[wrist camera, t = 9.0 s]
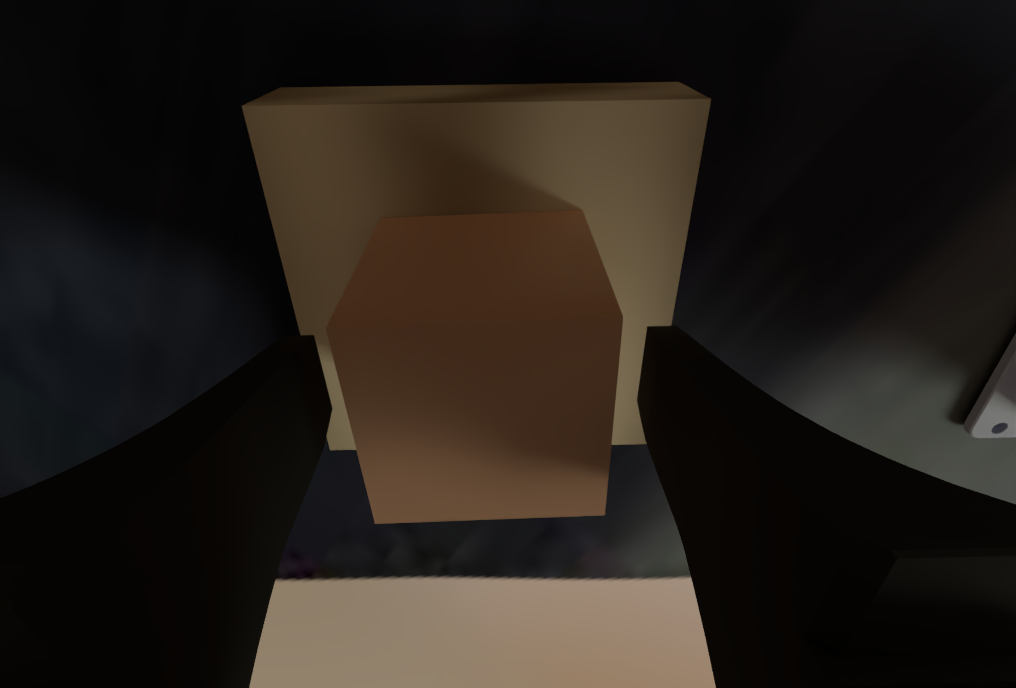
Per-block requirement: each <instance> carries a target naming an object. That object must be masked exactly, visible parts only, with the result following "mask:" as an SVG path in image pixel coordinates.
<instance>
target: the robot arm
mask: <svg viewBox="0 0 1016 688" xmlns="http://www.w3.org/2000/svg"><path fill="white" fill-rule="evenodd" d="M637 404H638V409H639V414H640V419H641V423H642V428H643V432H644V436H645V440H646V443H647V446H648V449H649V452H650V454H651V457H652V460H653V463H654V465H655V468H656V471H657V474H658V476H659V479H660V482H661V484H662V487H663V490H664V492H665V495H666V498H667V500H668V503H669V506H670V508H671V511H672V514H673V516H674V519H675V522H676V525H677V527H678V531H679V534H680V537H681V540H682V543H683V546H684V550H685V554H686V558H687V562H688V566H689V570H690V574H691V578H692V582H693V586H694V590H695V594H696V598H697V603H698V607H699V611H700V615H701V620H702V624H703V629H704V633H705V637H706V642H707V647H708V652H709V656H710V661H711V666H712V671H713V675H714V680H715V685H716V688H1016V505H1015V504H1012V503H1009V502H1006V501H1003V500H1000V499H997V498H994V497H991V496H988V495H985V494H982V493H979V492H975V491H972V490H969V489H966V488H963V487H960V486H957V485H955V484H952V483H949V482H946V481H944V480H941V479H939V478H936V477H933V476H931V475H928V474H926V473H923V472H920V471H918V470H915V469H913V468H910V467H908V466H905V465H903V464H900V463H898V462H896V461H893V460H891V459H889V458H886V457H884V456H882V455H879V454H877V453H875V452H873V451H871V450H869V449H866V448H864V447H862V446H860V445H858V444H856V443H854V442H852V441H849V440H847V439H845V438H843V437H841V436H839V435H837V434H835V433H833V432H831V431H829V430H827V429H826V428H824V427H822V426H820V425H818V424H817V423H815V422H813V421H811V420H809V419H808V418H806V417H804V416H802V415H801V414H799V413H797V412H795V411H794V410H792V409H790V408H789V407H787V406H785V405H784V404H782V403H781V402H779V401H777V400H776V399H774V398H773V397H771V396H770V395H768V394H767V393H765V392H764V391H762V390H761V389H759V388H758V387H756V386H755V385H753V384H752V383H751V382H749V381H748V380H746V379H745V378H744V377H742V376H741V375H739V374H738V373H737V372H735V371H734V370H733V369H731V368H730V367H729V366H727V365H726V364H725V363H723V362H722V361H721V360H720V359H718V358H717V357H716V356H714V355H713V354H712V353H711V352H709V351H708V350H707V349H705V348H704V347H703V346H702V345H700V344H699V343H698V342H697V341H695V340H694V339H693V338H691V337H690V336H689V335H688V334H686V333H685V332H684V331H682V330H681V329H679V328H678V327H677V326H647V331H646V338H645V345H644V353H643V360H642V367H641V374H640V381H639V389H638V396H637ZM332 409H333V408H332V404H331V400H330V396H329V392H328V388H327V385H326V381H325V377H324V373H323V369H322V365H321V361H320V357H319V353H318V349H317V345H316V341H315V337H314V335H292V336H285V337H283V338H281V339H280V340H278V341H276V342H275V343H273V344H272V345H271V346H269V347H268V348H266V349H265V350H263V351H262V352H261V353H259V354H258V355H257V356H255V357H254V358H252V359H251V360H250V361H248V362H247V363H246V364H244V365H243V366H242V367H240V368H239V369H237V370H236V371H235V372H233V373H232V374H230V375H229V376H228V377H226V378H225V379H224V380H222V381H221V382H219V383H218V384H217V385H215V386H214V387H212V388H211V389H209V390H208V391H206V392H205V393H203V394H202V395H200V396H199V397H197V398H196V399H194V400H193V401H191V402H190V403H188V404H187V405H185V406H184V407H182V408H181V409H179V410H178V411H176V412H175V413H173V414H172V415H170V416H168V417H167V418H165V419H164V420H162V421H160V422H159V423H157V424H155V425H153V426H152V427H150V428H148V429H147V430H145V431H143V432H141V433H139V434H138V435H136V436H134V437H132V438H130V439H129V440H127V441H125V442H123V443H121V444H119V445H118V446H116V447H114V448H112V449H110V450H108V451H106V452H104V453H102V454H99V455H97V456H95V457H93V458H91V459H89V460H87V461H85V462H83V463H81V464H79V465H77V466H74V467H72V468H70V469H68V470H66V471H64V472H62V473H60V474H58V475H55V476H53V477H51V478H49V479H46V480H44V481H42V482H39V483H37V484H35V485H32V486H30V487H28V488H25V489H23V490H20V491H18V492H15V493H13V494H10V495H8V496H5V497H3V498H0V688H249V685H250V681H251V676H252V672H253V667H254V663H255V658H256V653H257V649H258V645H259V641H260V637H261V633H262V629H263V624H264V621H265V617H266V613H267V609H268V605H269V601H270V597H271V593H272V589H273V586H274V583H275V579H276V575H277V572H278V568H279V564H280V561H281V557H282V554H283V551H284V548H285V545H286V543H287V540H288V537H289V534H290V532H291V529H292V527H293V524H294V522H295V519H296V517H297V514H298V512H299V509H300V507H301V504H302V502H303V499H304V497H305V494H306V492H307V489H308V487H309V484H310V482H311V479H312V476H313V474H314V471H315V469H316V466H317V464H318V461H319V458H320V456H321V453H322V450H323V448H324V444H325V440H326V436H327V432H328V427H329V423H330V418H331V413H332ZM963 427H964V430H965V431H966V432H967V433H968V434H969V435H970V436H972V437H973V438H1003V437H1016V333H1015V335H1014V337H1013V339H1012V340H1011V342H1010V344H1009V346H1008V347H1007V349H1006V351H1005V353H1004V354H1003V356H1002V358H1001V360H1000V361H999V363H998V365H997V366H996V368H995V370H994V372H993V373H992V375H991V377H990V379H989V380H988V382H987V384H986V386H985V387H984V389H983V391H982V393H981V394H980V396H979V398H978V400H977V401H976V403H975V405H974V407H973V408H972V410H971V412H970V414H969V415H968V417H967V419H966V421H965V423H964V426H963Z"/></svg>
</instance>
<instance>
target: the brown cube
mask: <svg viewBox="0 0 1016 688" xmlns="http://www.w3.org/2000/svg"><path fill="white" fill-rule="evenodd" d="M622 326H623V315H622V312H621V309H620V307H619V304H618V301H617V299H616V296H615V294H614V291H613V288H612V286H611V283H610V280H609V278H608V275H607V273H606V270H605V267H604V265H603V262H602V260H601V257H600V254H599V252H598V249H597V246H596V244H595V241H594V239H593V236H592V233H591V231H590V228H589V225H588V223H587V220H586V218H585V215H584V212H583V210H567V211H541V212H516V213H490V214H465V215H439V216H414V217H388V218H380V219H379V221H378V223H377V225H376V227H375V229H374V232H373V234H372V236H371V238H370V240H369V242H368V244H367V246H366V248H365V250H364V252H363V254H362V256H361V258H360V260H359V262H358V264H357V266H356V268H355V270H354V272H353V274H352V276H351V278H350V280H349V282H348V284H347V286H346V288H345V290H344V292H343V294H342V296H341V298H340V300H339V302H338V304H337V306H336V308H335V310H334V312H333V314H332V316H331V318H330V320H329V323H328V325H327V327H326V332H327V336H328V340H329V344H330V348H331V352H332V356H333V360H334V363H335V367H336V371H337V375H338V379H339V383H340V387H341V391H342V395H343V399H344V403H345V407H346V411H347V415H348V419H349V423H350V426H351V430H352V434H353V438H354V442H355V446H356V450H357V454H358V458H359V462H360V466H361V470H362V474H363V478H364V482H365V486H366V489H367V493H368V497H369V501H370V505H371V509H372V513H373V517H374V521H375V524H382V523H409V522H435V521H462V520H489V519H516V518H543V517H570V516H597V515H605V507H606V497H607V486H608V475H609V465H610V454H611V443H612V433H613V422H614V411H615V401H616V390H617V380H618V369H619V358H620V348H621V337H622Z"/></svg>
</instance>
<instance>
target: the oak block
mask: <svg viewBox="0 0 1016 688" xmlns="http://www.w3.org/2000/svg"><path fill="white" fill-rule="evenodd" d="M710 103H711V99H710V98H708V97H706V96H705V95H703V94H701V93H699V92H697V91H695V90H693V89H692V88H690V87H688V86H686V85H684V84H682V83H680V82H633V83H562V84H492V85H422V86H352V87H282V88H278V89H276V90H274V91H272V92H270V93H268V94H266V95H263V96H261V97H259V98H257V99H255V100H253V101H251V102H249V103H247V104H245V105H243V106H242V109H243V113H244V117H245V121H246V125H247V129H248V133H249V137H250V140H251V144H252V148H253V152H254V156H255V160H256V164H257V168H258V172H259V175H260V179H261V183H262V187H263V191H264V195H265V199H266V203H267V206H268V210H269V214H270V218H271V222H272V226H273V230H274V234H275V238H276V241H277V245H278V249H279V253H280V257H281V261H282V265H283V269H284V273H285V276H286V280H287V284H288V288H289V292H290V296H291V300H292V304H293V308H294V311H295V315H296V319H297V323H298V327H299V331H300V335H314V337H315V341H316V345H317V349H318V353H319V357H320V361H321V365H322V369H323V373H324V377H325V381H326V385H327V388H328V392H329V396H330V400H331V404H332V408H333V409H332V413H331V418H330V423H329V427H328V432H327V440H328V444H329V448H330V450H356V446H355V442H354V438H353V434H352V430H351V426H350V423H349V419H348V415H347V411H346V407H345V403H344V399H343V395H342V391H341V387H340V383H339V379H338V375H337V371H336V367H335V363H334V360H333V356H332V352H331V348H330V344H329V340H328V336H327V332H326V327H327V325H328V323H329V320H330V318H331V316H332V314H333V312H334V310H335V308H336V306H337V304H338V302H339V300H340V298H341V296H342V294H343V292H344V290H345V288H346V286H347V284H348V282H349V280H350V278H351V276H352V274H353V272H354V270H355V268H356V266H357V264H358V262H359V260H360V258H361V256H362V254H363V252H364V250H365V248H366V246H367V244H368V242H369V240H370V238H371V236H372V234H373V232H374V229H375V227H376V225H377V223H378V221H379V219H380V218H388V217H414V216H439V215H465V214H490V213H516V212H541V211H567V210H583V212H584V215H585V218H586V220H587V223H588V225H589V228H590V231H591V233H592V236H593V239H594V241H595V244H596V246H597V249H598V252H599V254H600V257H601V260H602V262H603V265H604V267H605V270H606V273H607V275H608V278H609V280H610V283H611V286H612V288H613V291H614V294H615V296H616V299H617V301H618V304H619V307H620V309H621V312H622V315H623V326H622V337H621V348H620V358H619V369H618V380H617V390H616V401H615V411H614V422H613V433H612V443H611V445H620V444H647V443H646V440H645V436H644V432H643V428H642V423H641V419H640V414H639V409H638V404H637V396H638V389H639V381H640V374H641V367H642V360H643V353H644V345H645V338H646V331H647V326H671V323H672V317H673V312H674V306H675V300H676V295H677V289H678V283H679V278H680V272H681V267H682V261H683V255H684V250H685V244H686V238H687V233H688V227H689V221H690V216H691V210H692V205H693V199H694V193H695V188H696V182H697V176H698V171H699V165H700V159H701V154H702V148H703V143H704V137H705V131H706V126H707V120H708V114H709V109H710Z"/></svg>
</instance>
